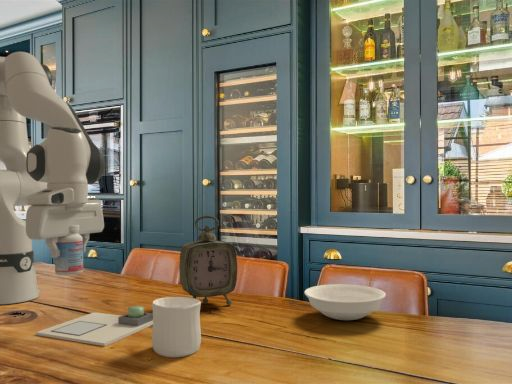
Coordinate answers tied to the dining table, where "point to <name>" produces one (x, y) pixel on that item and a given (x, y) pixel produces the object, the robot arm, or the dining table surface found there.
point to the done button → (135, 311)
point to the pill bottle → (70, 253)
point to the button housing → (135, 319)
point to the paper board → (93, 329)
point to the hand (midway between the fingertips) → (68, 255)
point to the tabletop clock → (208, 266)
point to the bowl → (345, 300)
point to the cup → (176, 326)
